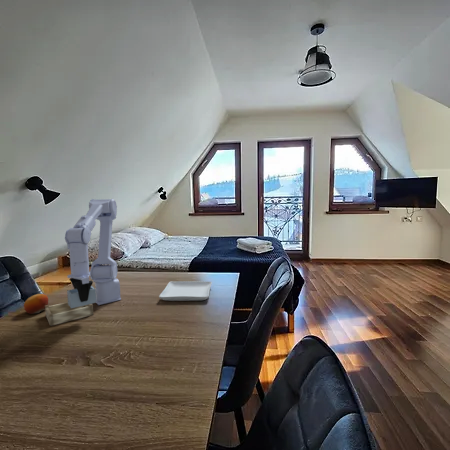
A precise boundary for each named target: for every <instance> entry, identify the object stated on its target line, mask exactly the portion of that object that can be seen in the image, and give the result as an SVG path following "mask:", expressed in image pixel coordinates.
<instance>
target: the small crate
mask: <svg viewBox="0 0 450 450" xmlns="http://www.w3.org/2000/svg"><path fill="white" fill-rule="evenodd" d="M66 293H67V302H68V305H69V306H70V307H71V308H75V307H80V306H84V305H88V304H95V303H96V287H95V288H94V286H93V285H91V288H90V291H89V296H88V301H84V302H81V301H80V298H79V294H78V290H77V289H74V288H73V289H69V290H68V289H67V291H66ZM96 304H97V303H96Z"/></svg>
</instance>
